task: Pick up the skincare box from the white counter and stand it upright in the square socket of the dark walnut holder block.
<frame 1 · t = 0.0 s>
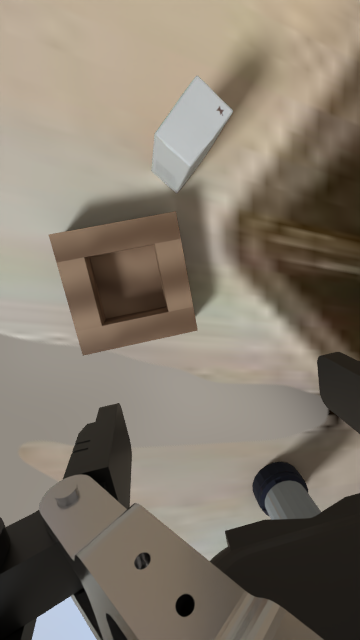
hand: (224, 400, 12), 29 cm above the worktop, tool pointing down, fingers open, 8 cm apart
holder: (129, 281, 39), on the worktop
skincare box: (177, 164, 37), on the worktop
grey bottle: (275, 482, 49), on the worktop
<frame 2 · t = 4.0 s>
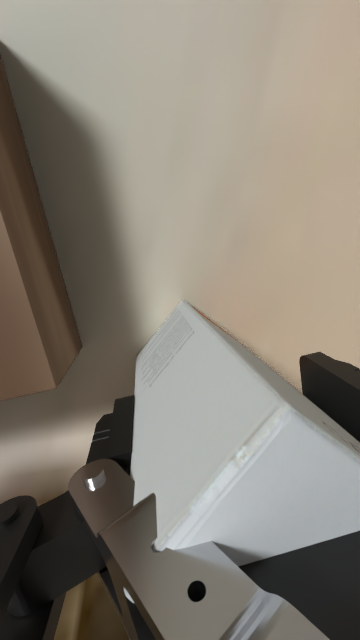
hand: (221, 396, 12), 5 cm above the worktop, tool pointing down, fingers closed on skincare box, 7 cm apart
skincare box: (198, 355, 17), on the worktop, touching gripper
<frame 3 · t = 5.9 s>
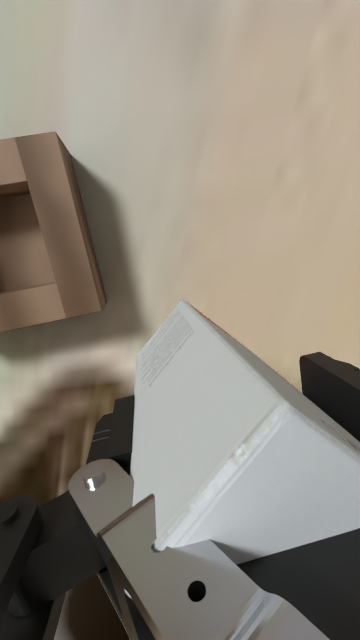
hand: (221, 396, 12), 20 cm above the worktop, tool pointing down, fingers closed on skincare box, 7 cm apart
holder: (15, 245, 28), on the worktop
skincare box: (198, 355, 17), point 15 cm above the worktop, touching gripper
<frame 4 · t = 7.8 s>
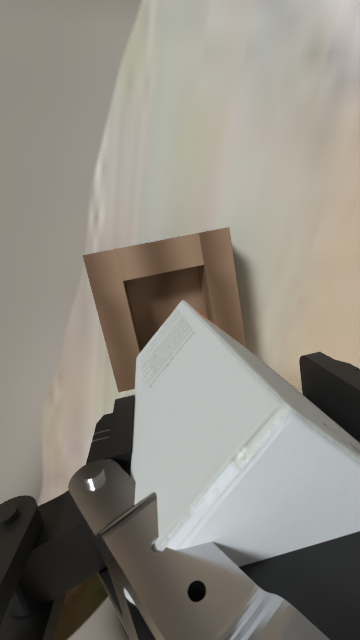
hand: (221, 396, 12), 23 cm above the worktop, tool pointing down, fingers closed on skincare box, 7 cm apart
holder: (167, 304, 34), on the worktop
skincare box: (198, 356, 17), point 18 cm above the worktop, touching gripper
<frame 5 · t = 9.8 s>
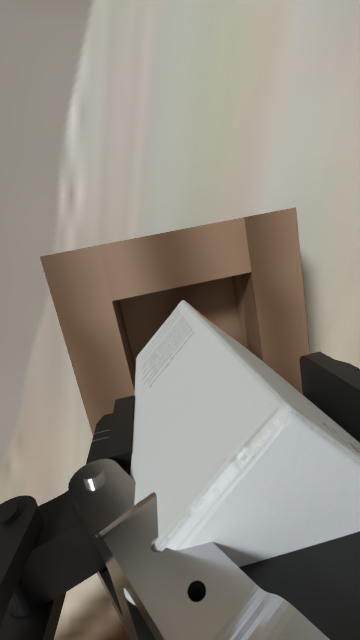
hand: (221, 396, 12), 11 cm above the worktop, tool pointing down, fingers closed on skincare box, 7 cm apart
holder: (183, 331, 22), on the worktop
skincare box: (198, 356, 17), point 6 cm above the worktop, touching gripper
when the fingers open (7 cm above the worktop, at t = 11.7 s): skincare box drops 1 cm, resting on holder.
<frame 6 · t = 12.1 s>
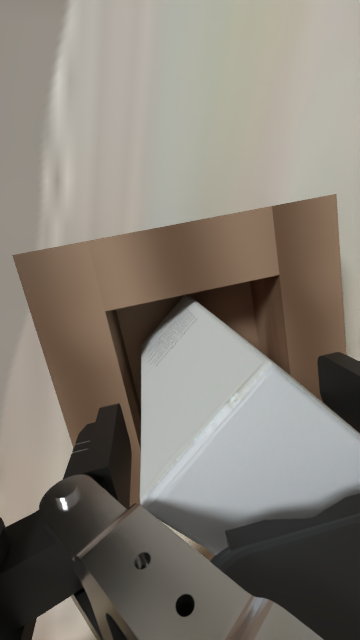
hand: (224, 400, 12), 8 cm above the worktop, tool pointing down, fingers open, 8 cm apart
holder: (191, 344, 19), on the worktop
skincare box: (198, 346, 18), point 1 cm above the worktop, touching holder
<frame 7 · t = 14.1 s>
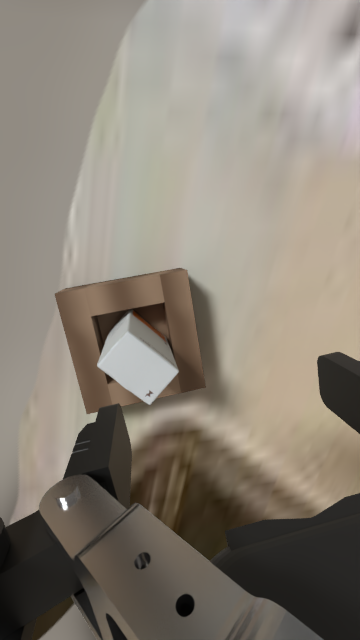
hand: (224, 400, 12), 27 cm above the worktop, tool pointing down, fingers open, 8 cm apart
holder: (135, 332, 38), on the worktop
skincare box: (137, 333, 37), point 1 cm above the worktop, touching holder
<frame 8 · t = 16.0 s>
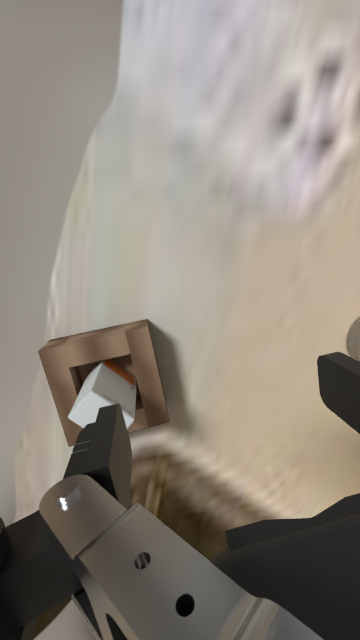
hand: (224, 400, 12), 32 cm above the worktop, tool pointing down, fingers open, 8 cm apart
holder: (111, 373, 44), on the worktop
skincare box: (112, 375, 43), point 1 cm above the worktop, touching holder
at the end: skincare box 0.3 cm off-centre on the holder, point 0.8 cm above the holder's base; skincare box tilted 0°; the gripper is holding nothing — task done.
